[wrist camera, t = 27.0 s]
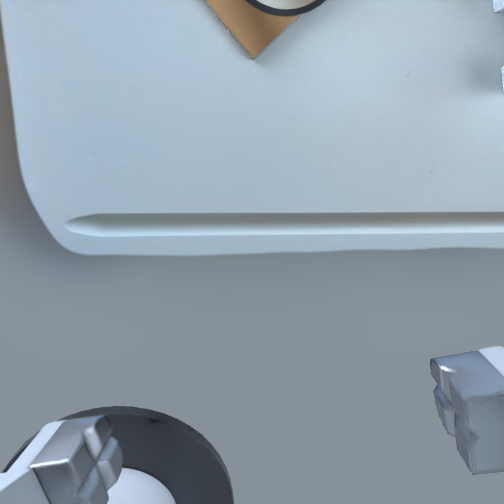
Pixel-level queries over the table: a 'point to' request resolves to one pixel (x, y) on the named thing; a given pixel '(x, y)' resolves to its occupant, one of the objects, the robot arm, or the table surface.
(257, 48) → the brown flat square board
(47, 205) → the table surface
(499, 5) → the block with arch cutout
